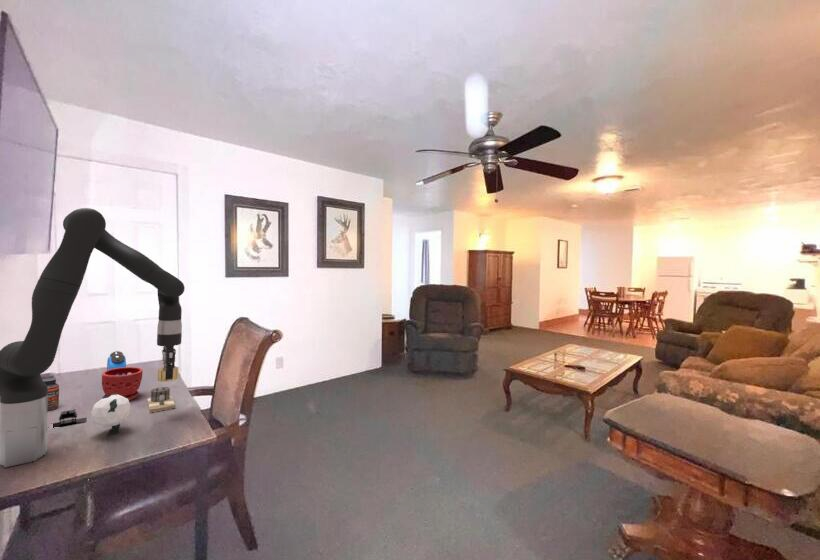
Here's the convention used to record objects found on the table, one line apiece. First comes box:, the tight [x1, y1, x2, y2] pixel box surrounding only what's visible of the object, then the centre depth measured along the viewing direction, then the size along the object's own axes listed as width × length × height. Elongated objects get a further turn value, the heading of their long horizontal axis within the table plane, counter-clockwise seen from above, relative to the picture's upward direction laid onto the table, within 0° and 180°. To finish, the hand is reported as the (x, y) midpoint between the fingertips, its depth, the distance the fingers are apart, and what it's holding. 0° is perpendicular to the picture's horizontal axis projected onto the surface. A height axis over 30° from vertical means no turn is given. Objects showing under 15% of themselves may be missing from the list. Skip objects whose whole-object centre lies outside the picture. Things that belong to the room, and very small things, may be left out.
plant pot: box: [101, 366, 143, 401], centre depth 147 cm, size 13×13×12 cm
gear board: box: [146, 386, 176, 414], centre depth 142 cm, size 14×8×6 cm, turn 39°
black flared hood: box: [53, 409, 88, 429], centre depth 124 cm, size 12×7×5 cm, turn 131°
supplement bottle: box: [42, 377, 60, 412], centre depth 135 cm, size 6×6×11 cm
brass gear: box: [157, 365, 180, 383], centre depth 132 cm, size 6×6×4 cm
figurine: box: [90, 393, 132, 437], centre depth 118 cm, size 18×10×13 cm, turn 38°
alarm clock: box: [106, 350, 127, 375], centre depth 163 cm, size 13×6×15 cm, turn 44°
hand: (168, 376), depth 132 cm, fingers closed on brass gear, 6 cm apart
